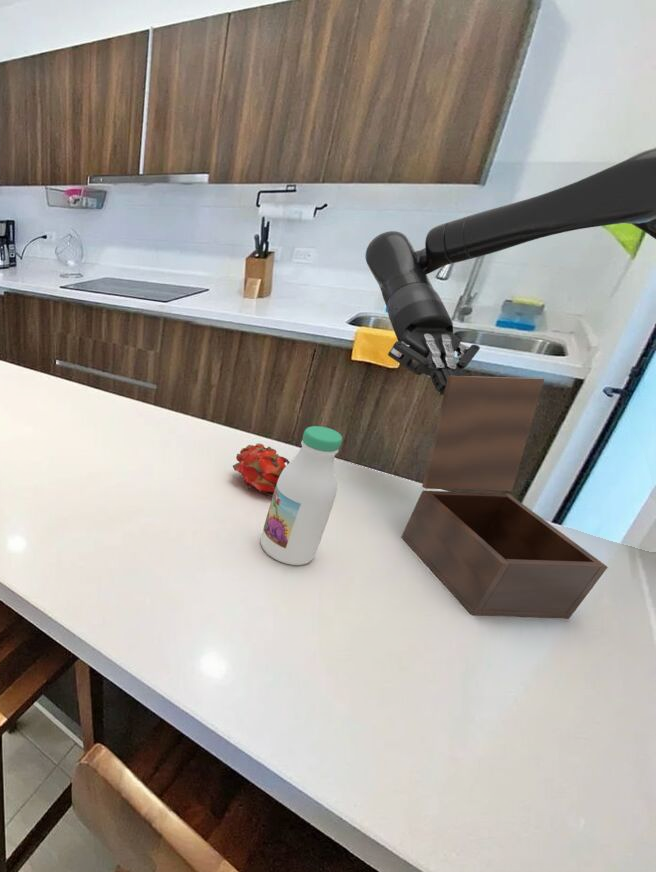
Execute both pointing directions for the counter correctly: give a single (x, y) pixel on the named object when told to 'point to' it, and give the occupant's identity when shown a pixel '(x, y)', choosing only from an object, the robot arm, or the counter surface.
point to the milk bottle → (303, 499)
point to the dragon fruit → (260, 467)
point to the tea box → (500, 555)
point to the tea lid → (481, 432)
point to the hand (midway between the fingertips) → (450, 391)
